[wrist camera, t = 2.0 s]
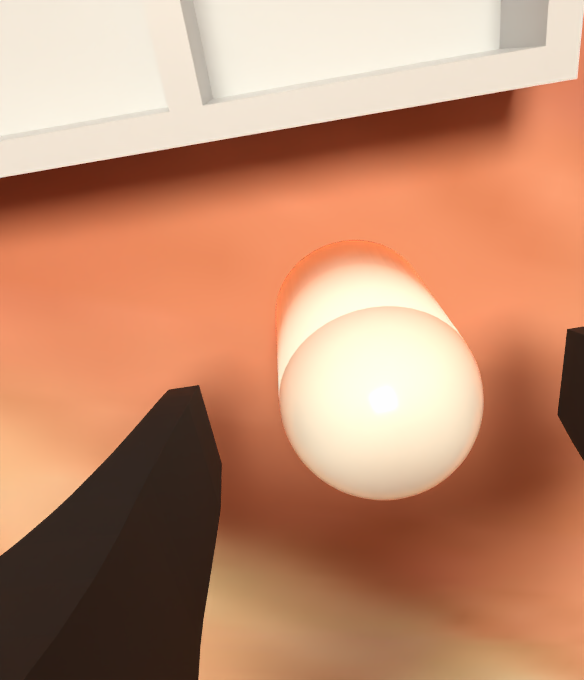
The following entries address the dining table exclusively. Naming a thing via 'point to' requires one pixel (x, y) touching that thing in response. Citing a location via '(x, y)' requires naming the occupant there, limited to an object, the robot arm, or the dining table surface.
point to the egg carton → (252, 67)
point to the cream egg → (373, 374)
